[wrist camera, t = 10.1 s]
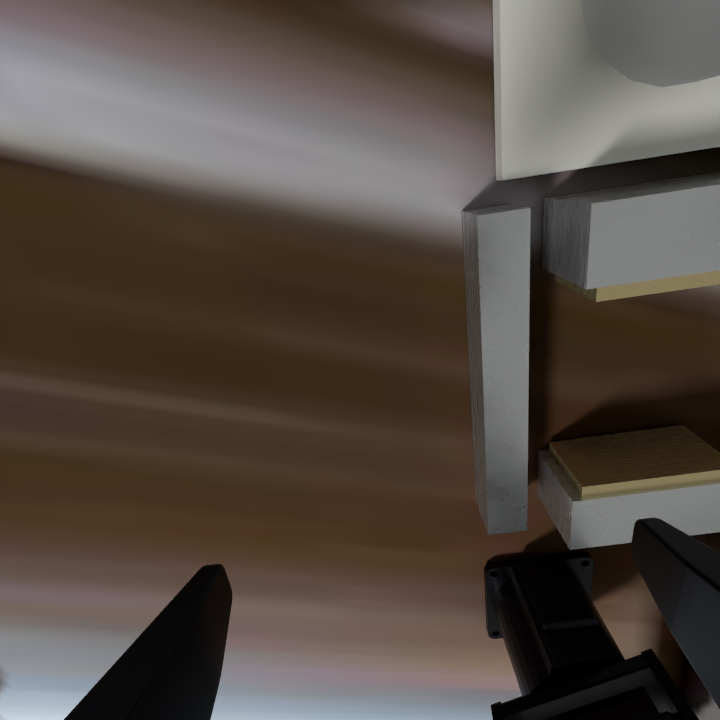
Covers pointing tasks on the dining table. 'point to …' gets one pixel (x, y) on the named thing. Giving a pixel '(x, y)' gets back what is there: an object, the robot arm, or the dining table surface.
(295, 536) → the dining table surface
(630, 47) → the can
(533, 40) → the tray
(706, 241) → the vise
